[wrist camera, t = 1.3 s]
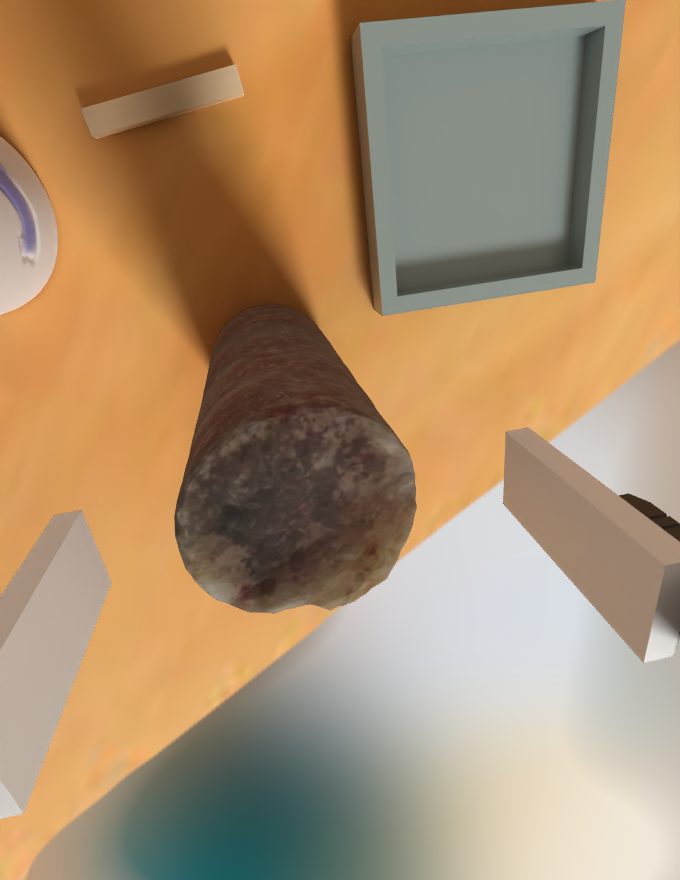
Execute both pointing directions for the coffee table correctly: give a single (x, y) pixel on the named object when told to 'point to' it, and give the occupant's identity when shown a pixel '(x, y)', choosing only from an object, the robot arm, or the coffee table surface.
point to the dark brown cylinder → (290, 473)
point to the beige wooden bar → (163, 102)
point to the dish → (485, 150)
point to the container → (23, 231)
